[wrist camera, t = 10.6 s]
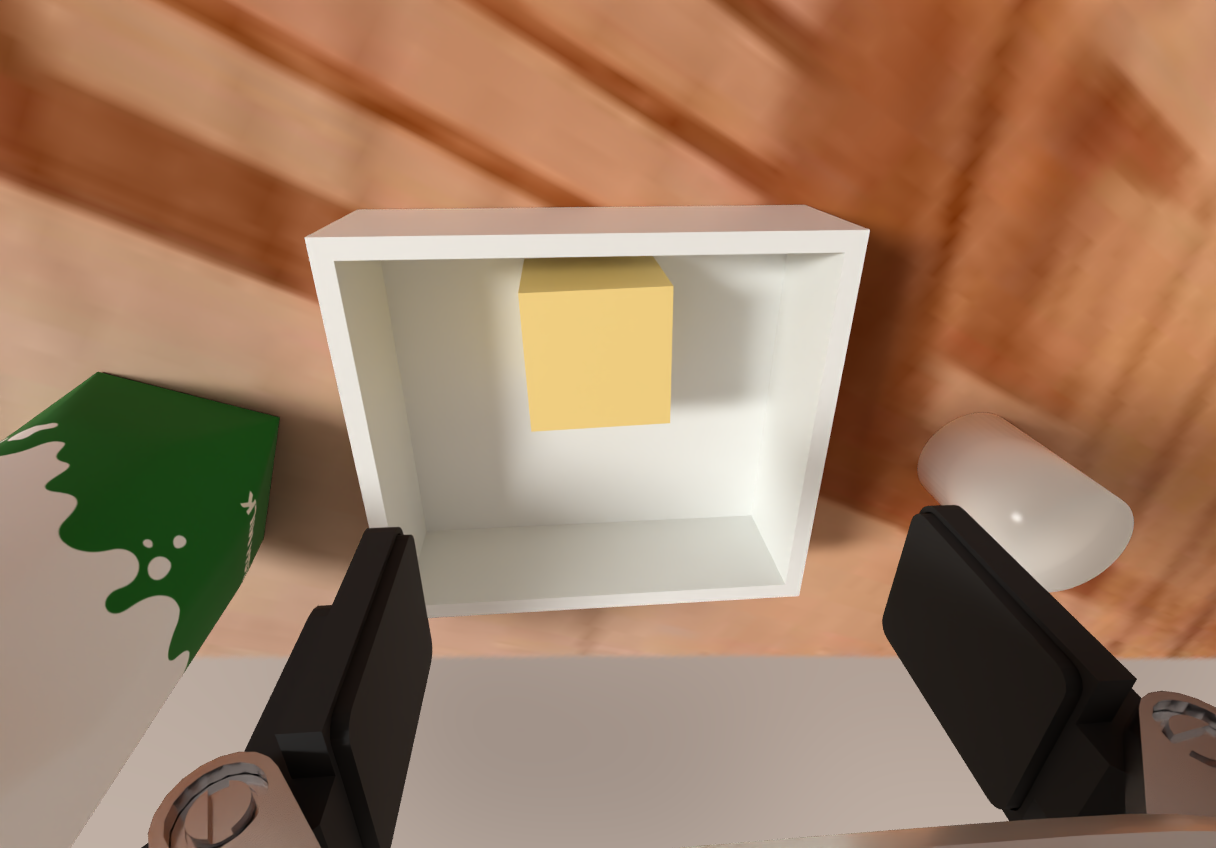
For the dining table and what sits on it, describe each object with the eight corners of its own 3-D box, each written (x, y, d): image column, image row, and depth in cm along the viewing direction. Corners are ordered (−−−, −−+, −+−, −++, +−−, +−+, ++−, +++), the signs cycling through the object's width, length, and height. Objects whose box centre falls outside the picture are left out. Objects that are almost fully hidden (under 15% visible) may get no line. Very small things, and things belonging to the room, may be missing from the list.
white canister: (1028, 410, 30) (1154, 490, 24) (998, 495, 32) (1105, 588, 26) (931, 414, 29) (1032, 496, 23) (907, 500, 32) (994, 595, 25)
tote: (804, 204, 24) (870, 229, 19) (759, 519, 31) (798, 595, 26) (357, 209, 23) (304, 237, 18) (416, 535, 30) (389, 620, 25)
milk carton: (72, 344, 24) (-1182, 965, 7) (308, 405, 26) (-180, 1004, 9) (77, 515, 28) (-734, 1214, 10) (285, 557, 30) (-95, 1200, 12)
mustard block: (651, 253, 24) (673, 286, 20) (650, 370, 26) (670, 423, 22) (524, 258, 24) (517, 293, 19) (534, 376, 26) (531, 431, 22)
